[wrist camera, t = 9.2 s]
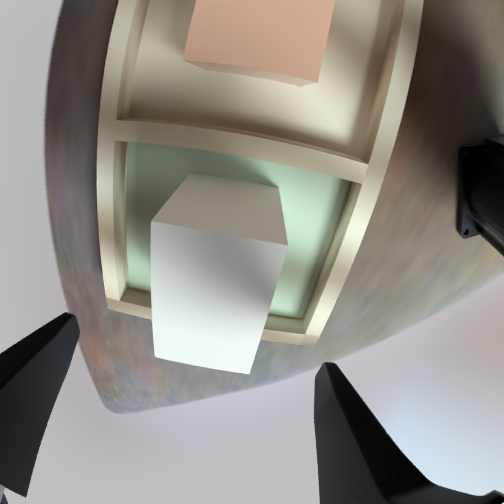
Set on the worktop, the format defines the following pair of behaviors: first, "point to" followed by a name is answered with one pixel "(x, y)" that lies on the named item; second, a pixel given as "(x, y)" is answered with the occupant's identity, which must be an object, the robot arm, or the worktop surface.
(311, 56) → the terracotta block
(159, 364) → the worktop surface
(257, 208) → the block
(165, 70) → the slot cradle
